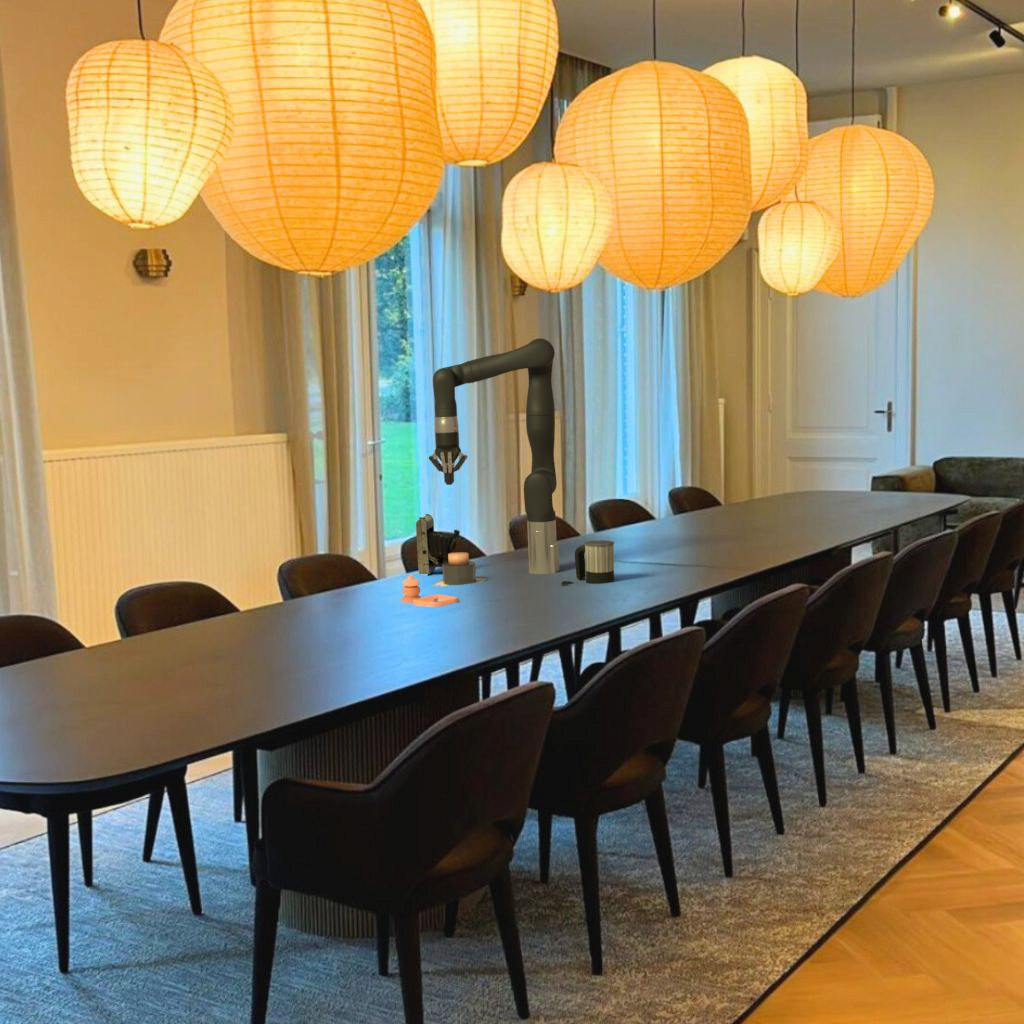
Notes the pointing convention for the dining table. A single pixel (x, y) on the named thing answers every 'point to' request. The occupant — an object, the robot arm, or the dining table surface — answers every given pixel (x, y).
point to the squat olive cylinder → (459, 573)
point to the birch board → (449, 585)
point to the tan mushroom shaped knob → (458, 558)
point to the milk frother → (594, 562)
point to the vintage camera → (432, 545)
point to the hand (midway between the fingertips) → (449, 484)
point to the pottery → (412, 597)
